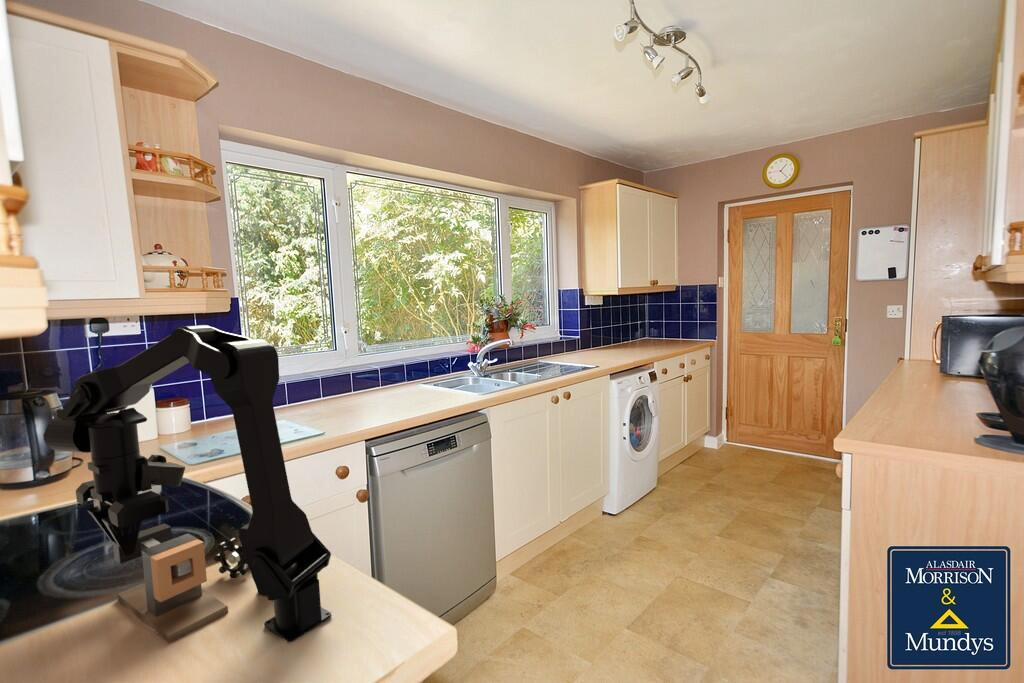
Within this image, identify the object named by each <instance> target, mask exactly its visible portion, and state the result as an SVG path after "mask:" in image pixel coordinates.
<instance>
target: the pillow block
mask: <svg viewBox="0 0 1024 683" xmlns="http://www.w3.org/2000/svg"><path fill="white" fill-rule="evenodd" d="M195 539H198V537H196V536H194V535H192V534H190V533H185V534H183V535H180V536H177V537H174V538H172V539H171V540H169V541H166V542H163V543H160V544H158V545H155V546H152V547H150V548H147V549H144V550H142V556H141V557H142V568H143V579H144V583H145V590H146V600H147V610H148V611H149V612H150V613H151V614H153V615H154V616H155V617H158V616H160V615H162V614H164V613H167V612H169V611H171V610H173V609H175V608H177V607H179V606H181V605H184V604H186V603H188V602H190V601H192V600H194V599H196V598H198V597H201V596H202V589H203V588H202V584H200V585H197V586H195V587H193V588H191V589H189V590H186V591H184V592H182V593H180V594H178V595H175V596H173V597H171V598H169V599H167V600H164V601H162V602H159V601H158V600H156V599H155V598H154V590H153V580H152V570H151V559H150V557H151V556H153V555H156V554H159V553H161V552H164V551H167V550H169V549H172V548H174V547H177V546H180V545H182V544H185V543H188V542H190V541H193V540H195ZM171 577H172V579H173V578H175V577H178V576H177V575H175V574H174V573H172V572H171Z"/></svg>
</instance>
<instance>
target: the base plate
mask: <svg viewBox="0 0 1024 683" xmlns="http://www.w3.org/2000/svg"><path fill="white" fill-rule="evenodd" d="M117 600H118V601H119V602H120V603H121V604H122V605H123V606H124V607H125V608H127V609H128V610H129V609H130V610H129V611H130V612H132V613H133V614H134V615H135V616H136V615H137V616H138V617H137V616H136V617H137V618H139V619H140V620H141V621H142V622H143V623H144V624H146V626H148V628H150V629H151V630H153V631H154V632H155V633H156V634H157V635H158V636H160V637H161V638H162V639H163V640H164V641H165V642H166V643H168V644H170V643H172V642H174V641H175V640H177V639H180V638H182V637H183V636H186V635H187V634H189V633H191V632H193V631H195V630H197V629H198V628H200V627H202V626H204V625H206V624H209V623H211V622H212V621H214V620H216V619H218V618H219V617H222V616H224V615H226V614H228V613H229V609H228V607H229V606H228V605H227V604H225V602H222V601H221V600H219V599H218V598H217V597H215V596H213V595H212V594H210V593H209V592H207V591H206V590H204V589H203V588H202V596H201V597H198V598H196V599H194V600H192V601H190V602H188V603H186V604H184V605H181V606H179V607H177V608H175V609H173V610H171V611H169V612H167V613H164V614H162V615H160V616H158V617H155V616H154V615H153V614H151V613H150V612H149V611H148V610H147V600H146V590H145V582H143V583H140V584H138V585H136V586H133V587H131V588H128V589H126V590H123V591H120V592H119V593H117Z"/></svg>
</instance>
